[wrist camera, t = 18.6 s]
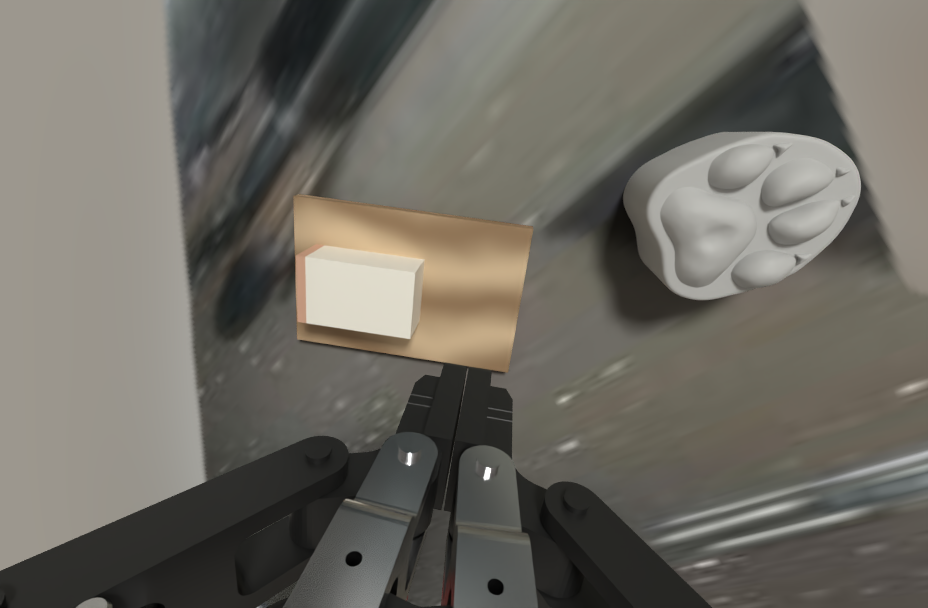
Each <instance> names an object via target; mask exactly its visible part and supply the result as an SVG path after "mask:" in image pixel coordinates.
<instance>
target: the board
mask: <svg viewBox="0 0 928 608" xmlns="http://www.w3.org/2000/svg"><path fill="white" fill-rule="evenodd" d="M532 233H533V226H526V225H519V224H512V223H504V222H497V221H490V220H483V219H475V218H468V217H461V216H454V215H446V214H439V213H432V212H425V211H417V210H410V209H403V208H396V207H388V206H381V205H374V204H367V203H359V202H352V201H345V200H338V199H330V198H323V197H316V196H309V195H301V194H299V195H295V196H294V234H295V273H296V255H298V254H299V253H301V252H303V251H305V250H307V249H308V248H310V247H312V246H314V245H315V244H319V245H326V246H333V247H340V248H347V249H354V250H361V251H368V252H375V253H382V254H389V255H396V256H403V257H410V258H417V259H424V260H425V262H424V274H423V286H422V298H421V310H420V321H419V323H418V325H417V327H416V329H415V331H414V333H413V335H412V337H411V338H410V339H406V338H399V337H393V336H386V335H380V334H373V333H367V332H360V331H354V330H347V329H341V328H334V327H328V326H321V325H315V324H308V323H302V322H298V320H297V339H299V340H306V341H312V342H318V343H325V344H331V345H337V346H344V347H350V348H356V349H363V350H369V351H375V352H382V353H388V354H394V355H401V356H407V357H413V358H420V359H426V360H432V361H439V362H447V363H452V364H458V365H464V366H470V367H476V368H483V369H489V370H495V371H502V372H508V369H509V364H510V358H511V352H512V347H513V341H514V335H515V329H516V324H517V318H518V312H519V307H520V301H521V295H522V290H523V284H524V278H525V273H526V267H527V261H528V256H529V250H530V244H531V239H532ZM296 313H297V283H296Z"/></svg>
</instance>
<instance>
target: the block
mask: <svg viewBox="0 0 928 608" xmlns="http://www.w3.org/2000/svg"><path fill="white" fill-rule="evenodd" d="M424 262H425V260H424V259H417V258H410V257H403V256H396V255H389V254H382V253H375V252H368V251H361V250H354V249H347V248H340V247H333V246H326V245H319V244H315V245H314V246H312V247H310V248H308V249H307V250H305V251H303V252H301V253H299V254H298V255H296V283H297V320H298V322H302V323H308V324H315V325H321V326H328V327H334V328H341V329H347V330H354V331H360V332H367V333H373V334H380V335H386V336H393V337H399V338H406V339H410V338H411V337H412V335H413V333H414V331H415V329H416V327H417V325H418V323H419V321H420V310H421V298H422V286H423V274H424Z"/></svg>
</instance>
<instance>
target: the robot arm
mask: <svg viewBox="0 0 928 608" xmlns="http://www.w3.org/2000/svg"><path fill="white" fill-rule="evenodd" d="M466 371H467V366H464V365H458V364H452V363H447V362H445V363H444V366H443V369H442V373H441V376H440V377H435V376H429V375H425V376H423V377H422V378H421V379H419V380H418V381H417V382H416V383H415V385H414V387H413V390H412V393H411V395H410V398H409V400H408V404H407V406H406V408H405V411H404V413H403V416H402V419H401V421H400V424H399V426H398V429H397V431H396V434H395V435H393V436H391V437H390V438H388V439H387V440H386V441H385V442H384V444H383V446H382V448H381V449H378V450H375V451H371V452H365V453H348V449H347V447H346V445H345V444H344V443H343V442H342V441H340V440H338V439H336V438H333V437H329V436H315V437H310V438H307V439H304V440H302V441H299V442H297V443H295V444H292V445H290V446H288V447H286V448H283V449H281V450H279V451H276V452H274V453H272V454H269V455H267V456H265V457H262V458H260V459H258V460H255V461H253V462H251V463H249V464H246V465H244V466H242V467H239V468H237V469H235V470H232V471H230V472H228V473H225V474H223V475H221V476H219V477H216V478H214V479H212V480H209V481H207V482H205V483H202V484H200V485H198V486H196V487H193V488H191V489H189V490H186V491H184V492H182V493H179V494H177V495H175V496H172V497H170V498H168V499H165V500H163V501H161V502H159V503H156V504H154V505H152V506H149V507H147V508H145V509H142V510H140V511H138V512H135V513H133V514H131V515H128V516H126V517H124V518H121V519H119V520H117V521H115V522H112V523H110V524H108V525H105V526H103V527H101V528H98V529H96V530H94V531H91V532H90V533H87V534H85V535H82V536H80V537H78V538H75V539H73V540H71V541H68V542H66V543H64V544H61V545H59V546H57V547H55V548H52V549H50V550H48V551H45V552H43V553H41V554H38V555H36V556H34V557H32V558H29V559H27V560H24V561H22V562H20V563H18V564H15V565H13V566H11V567H8V568H6V569H4V570H1V571H0V608H256V607H258V606H259V605H261V604H262V603H264V602H265V601H267V600H268V599H270V598H271V597H273V596H274V595H276V594H277V593H279V592H280V591H282V590H283V589H285V588H287V587H288V586H290V585H291V584H293V583H294V582H296V581H297V580H298V581H297V583H296V585H295V587H294V589H293V590H292V592H291V594H290V596H289V597H288V598H286V599H283V600H281V601H279V602H276V603H274V604H272V605H270V606H269V607H267V608H712V607H711V606H710V605H709V604H708V603H707V602H706V601H705V600H704V599H703V598H702V597H701V596H700V595H699V594H698V593H697V592H696V591H695V590H693V589H692V588H691V587H690V586H689V585H688V584H687V583H686V582H685V581H684V580H683V579H682V578H681V577H680V576H679V575H678V574H677V573H676V572H675V571H674V570H673V569H672V568H671V567H670V566H669V565H668V564H667V563H666V562H665V561H664V560H663V559H662V558H660V557H659V556H658V555H657V554H656V553H655V552H654V551H653V550H652V549H651V548H650V547H649V546H648V545H647V544H646V543H645V542H644V541H643V540H642V539H641V538H640V537H639V536H638V535H637V534H636V533H635V532H634V531H633V530H632V529H631V528H630V527H629V526H628V525H626V524H625V523H624V522H623V521H622V520H621V519H620V518H619V517H618V516H617V515H616V514H615V513H614V512H613V511H612V510H611V509H610V508H609V507H608V506H607V505H606V504H605V503H604V502H603V501H602V500H601V499H600V498H599V497H598V496H597V495H596V494H594V493H593V492H592V491H591V490H589V489H588V488H586V487H584V486H582V485H579V484H577V483H573V482H558V483H555V484H553V485H551V486H550V487H549V488H548V489H544V488H542V487H540V486H538V485H536V484H534V483H532V482H530V481H528V480H527V479H525V478H524V477H523V476H522V475H521V474H520V473H519V472H518V471H517V470H516V468H515V465H514V462H513V461H512V402H513V400H512V398H511V396H510V395H509V393H508V391H507V390H506V389H504V388H498V387H492V386H490V383H491V373H492V370H487V369H482V368H476V367H470V366H469V370H468V375H467V381H466V386H465V391H464V396H463V390H464V384H465V378H466ZM462 397H463V401H462ZM461 403H462V407H461ZM460 409H461V412H460ZM459 415H460V417H459ZM458 421H459V422H458ZM457 426H458V427H457ZM456 431H457V433H456ZM455 437H456V438H455ZM454 442H455V443H454ZM453 447H454V450H453ZM452 452H453V456H452ZM451 457H452V462H451ZM450 463H451V469H450V475H449V481H448V488H447V494H446V500H445V506H444V510H445V511H450V512H451V515H450V521H449V527H448V533H447V539H446V550H445V562H444V575H443V587H442V599H441V606H431V607H419V606H416V605H413V604H411V603H409V602H407V601H406V599H407V596H408V593H409V589H410V586H411V583H412V580H413V577H414V573H415V570H416V567H417V564H418V560H419V557H420V554H421V551H422V547H423V544H424V541H425V538H426V533H427V528H428V526H429V524H430V522H431V518H432V513H433V509H438V510H441V509H442V504H443V499H444V494H445V488H446V483H447V478H448V473H449V468H450ZM287 515H289V516H287ZM286 516H287V517H286ZM284 517H285V518H284ZM282 518H283V519H282ZM280 519H282V520H280ZM278 520H280V521H278ZM276 521H278V522H276ZM274 522H276V523H274ZM273 523H274V524H273ZM271 524H272V525H271ZM269 525H271V526H269ZM267 526H269V527H267ZM265 527H267V528H265ZM263 528H265V529H263ZM262 529H263V530H262ZM260 530H261V531H260ZM258 531H259V532H258ZM256 532H258V533H256ZM254 533H256V534H254ZM252 534H254V535H252ZM251 535H252V536H251ZM249 536H250V537H249ZM246 538H247V539H246Z"/></svg>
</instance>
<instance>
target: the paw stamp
mask: <svg viewBox="0 0 928 608" xmlns="http://www.w3.org/2000/svg"><path fill="white" fill-rule="evenodd" d="M860 191H861V182H860V176H859V172H858V170H857V168H856V166H855V164H854V163H853V161H852V160H851V159H850V158H849V157H848V156H847V155H846V154H845V153H844V152H843V151H841V150H840V149H838V148H837V147H835V146H834V145H832V144H830V143H828V142H826V141H824V140H821V139H818V138H814V137H809V136H804V135H798V134H790V133H780V132H721V133H716V134H712V135H709V136H706V137H703V138H700V139H697V140H694V141H691V142H689V143H686V144H684V145H681V146H679V147H676V148H674V149H672V150H670V151H668V152H666V153H664V154H662V155H660V156H658V157H656V158H654V159H652V160H650V161H649V162H647V163H646V164H644V165H643V166H641V167H640V168H639V169H638V170H637V171H636V172H635V173H634V174H633V175H632V177H631V178H630V179H629V181H628V183H627V185H626V187H625V190H624V193H623V203H624V207H625V210H626V212H627V214H628V216H629V218H630V220H631V222H632V224H633V226H634V229H635V233H636V239H637V247H638V252H639V256H640V258H641V260H642V261H643V263H644V264H645V265H646V266H647V267H648V268H649V269H650V270H651V271H652V272H653V273H654V274H655V275H656V276H657V277H658V278H659V279H660V280H661V281H662V283H663V284H664V285H666V286H667V288H668V289H669V290H671V291H672V292H673V293H675V294H677V295H679V296H681V297H684V298H688V299H692V300H713V299H717V298H722V297H726V296H730V295H734V294H739V293H743V292H746V291H749V290H753V289H756V288H762V287H767V286H771V285H774V284H776V283H778V282H780V281H781V280H783V279H784V278H785V277H787V276H789V275H791V274H793V273H795V272H796V271H798V270H799V269H801V268H802V267H803V266H805V265H806V264H807V263H808V262H810V261H811V260H812V259H813V258H814V257H816V256H817V255H818V254H819V253H820V252H821V251H822V250H823V249H825V248H826V247H827V246H828V245H829V244H830V243H831V242H832V241H833V240H834V239H835V238H836V237H837V235H838V234H839V233H840V231H841V230H842V229H843V227H844V226H845V224H846V223H847V221H848V220H849V218H850V216H851V214H852V212H853V210H854V208H855V206H856V204H857V202H858V199H859V196H860Z"/></svg>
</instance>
